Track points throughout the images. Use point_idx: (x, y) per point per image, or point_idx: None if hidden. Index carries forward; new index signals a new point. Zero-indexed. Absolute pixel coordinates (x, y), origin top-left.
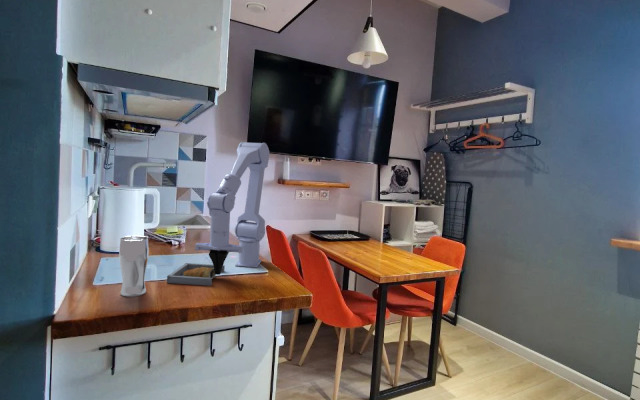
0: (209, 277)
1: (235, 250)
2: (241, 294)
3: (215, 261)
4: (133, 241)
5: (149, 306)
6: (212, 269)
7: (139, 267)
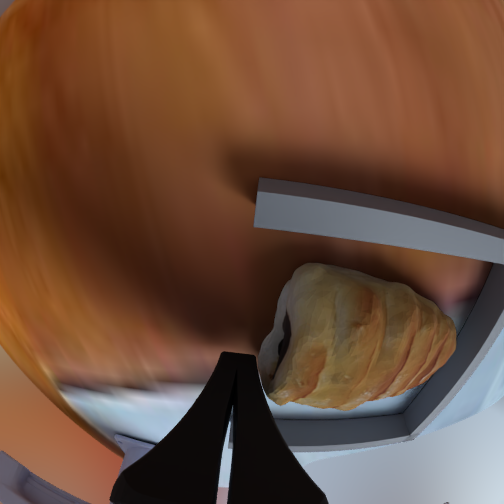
0: (290, 291)
1: (50, 497)
2: (34, 53)
3: (246, 442)
4: None
5: None
6: (276, 379)
7: None
